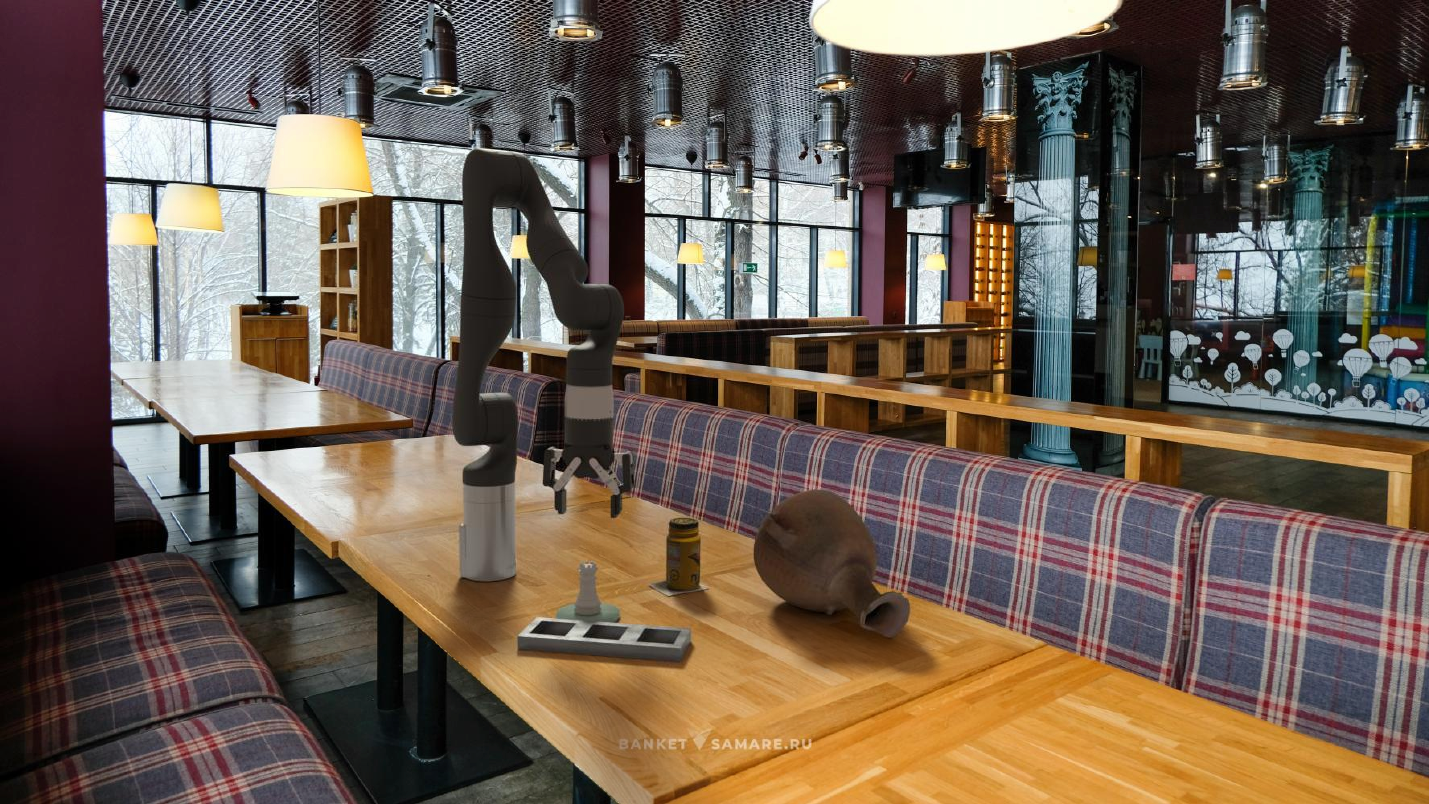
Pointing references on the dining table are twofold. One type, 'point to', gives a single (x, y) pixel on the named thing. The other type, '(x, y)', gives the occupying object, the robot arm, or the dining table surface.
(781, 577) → the jug
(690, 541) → the condiment
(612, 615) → the green dome
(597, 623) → the grey compartment tray
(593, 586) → the rook chess piece
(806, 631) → the dining table surface
